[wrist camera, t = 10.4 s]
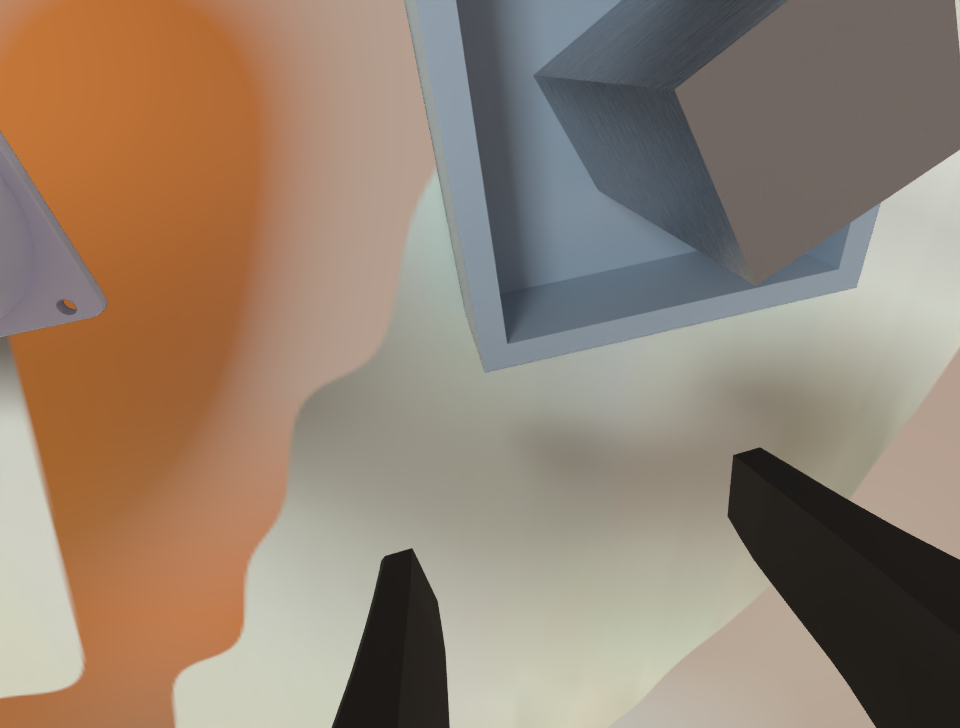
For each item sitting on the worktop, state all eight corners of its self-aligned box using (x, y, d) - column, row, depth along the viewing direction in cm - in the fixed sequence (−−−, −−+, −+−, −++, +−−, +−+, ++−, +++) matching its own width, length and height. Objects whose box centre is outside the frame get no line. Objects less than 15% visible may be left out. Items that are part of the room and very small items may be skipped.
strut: (598, 190, 16) (756, 285, 9) (533, 75, 14) (674, 89, 7) (707, 106, 15) (968, 144, 8) (655, -29, 13) (943, -122, 6)
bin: (465, 314, 18) (484, 372, 15) (378, -133, 12) (376, -211, 8) (771, 246, 19) (856, 287, 15) (851, -212, 12) (1028, -315, 9)
